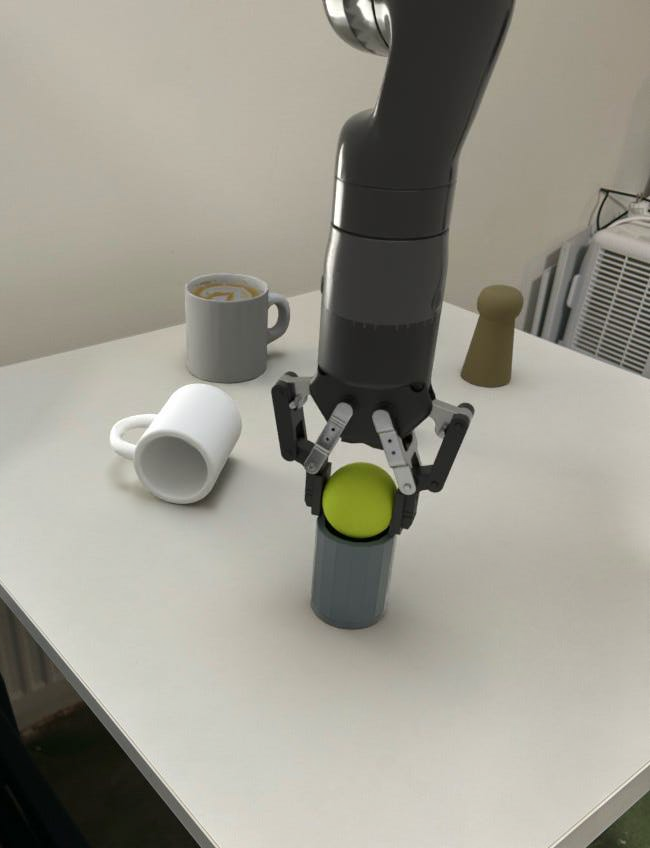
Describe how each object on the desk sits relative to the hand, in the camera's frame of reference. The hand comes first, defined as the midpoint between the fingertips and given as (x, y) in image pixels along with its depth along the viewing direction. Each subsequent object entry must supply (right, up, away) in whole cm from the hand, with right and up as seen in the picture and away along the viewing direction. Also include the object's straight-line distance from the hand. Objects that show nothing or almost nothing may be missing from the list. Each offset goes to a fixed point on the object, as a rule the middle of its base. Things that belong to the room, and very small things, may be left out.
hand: (357, 518), depth 62 cm
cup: (0, -7, +5) cm, 8 cm away
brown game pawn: (+21, +18, +40) cm, 49 cm away
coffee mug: (-9, +20, +42) cm, 48 cm away
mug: (-16, +5, +21) cm, 26 cm away
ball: (0, +1, -1) cm, 2 cm away
